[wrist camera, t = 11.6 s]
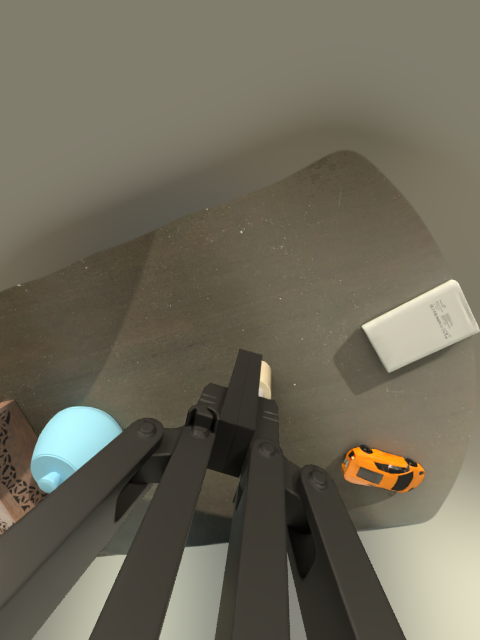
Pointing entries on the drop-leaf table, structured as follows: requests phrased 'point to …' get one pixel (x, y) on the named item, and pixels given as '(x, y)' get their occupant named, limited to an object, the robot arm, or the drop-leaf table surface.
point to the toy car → (381, 470)
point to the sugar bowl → (70, 444)
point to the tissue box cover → (16, 466)
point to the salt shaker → (265, 381)
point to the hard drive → (421, 326)
